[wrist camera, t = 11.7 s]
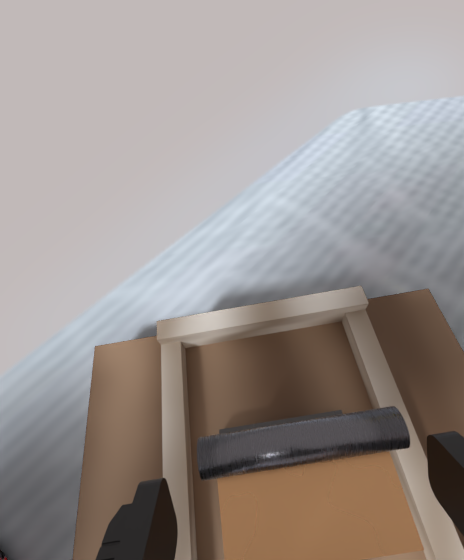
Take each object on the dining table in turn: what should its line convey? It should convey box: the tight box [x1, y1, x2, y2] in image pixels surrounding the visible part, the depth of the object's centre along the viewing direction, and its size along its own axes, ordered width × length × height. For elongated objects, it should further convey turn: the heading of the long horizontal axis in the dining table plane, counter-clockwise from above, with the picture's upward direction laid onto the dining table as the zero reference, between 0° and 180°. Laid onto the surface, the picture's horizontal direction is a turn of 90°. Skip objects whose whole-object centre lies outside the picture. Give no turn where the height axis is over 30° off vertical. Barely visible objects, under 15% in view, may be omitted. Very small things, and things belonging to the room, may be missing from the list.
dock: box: [72, 286, 464, 560], centre depth 16 cm, size 22×18×5 cm
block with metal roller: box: [197, 406, 424, 560], centre depth 11 cm, size 6×6×10 cm
